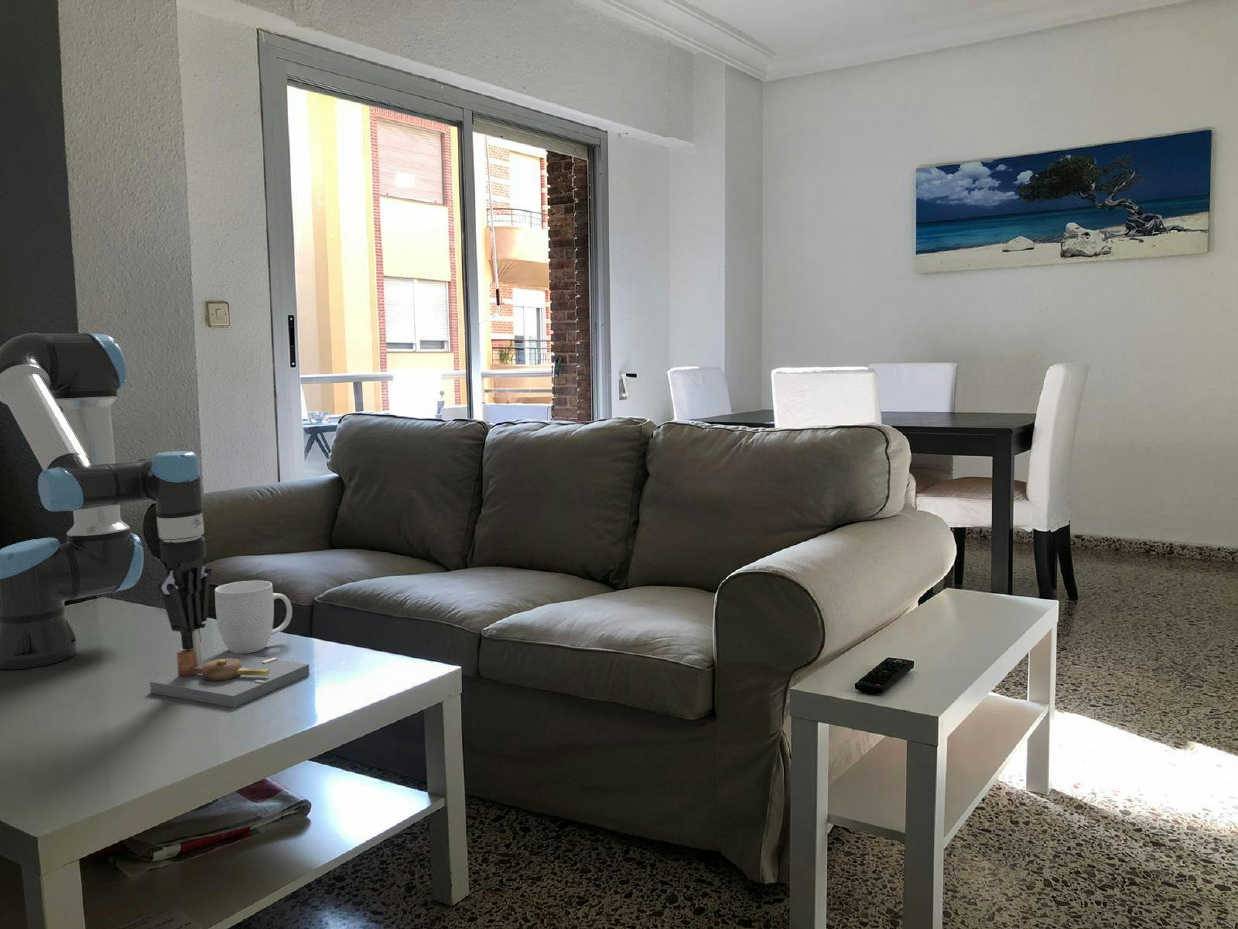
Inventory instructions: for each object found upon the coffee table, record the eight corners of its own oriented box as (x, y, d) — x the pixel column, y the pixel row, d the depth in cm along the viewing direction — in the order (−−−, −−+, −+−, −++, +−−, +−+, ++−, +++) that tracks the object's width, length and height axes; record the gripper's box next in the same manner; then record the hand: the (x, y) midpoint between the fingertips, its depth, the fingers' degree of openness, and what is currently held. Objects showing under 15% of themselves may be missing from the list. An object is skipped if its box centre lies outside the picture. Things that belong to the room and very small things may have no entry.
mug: (283, 634, 206) (280, 574, 205) (303, 645, 198) (299, 583, 196) (211, 648, 197) (207, 586, 195) (228, 661, 188) (224, 596, 187)
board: (150, 692, 171) (149, 680, 171) (230, 662, 187) (229, 651, 187) (234, 707, 163) (233, 694, 162) (309, 674, 179) (309, 662, 179)
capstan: (168, 679, 171) (167, 657, 171) (190, 667, 177) (188, 646, 177) (258, 682, 168) (257, 660, 168) (276, 670, 175) (275, 649, 174)
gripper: (179, 546, 166) (191, 677, 169) (221, 530, 178) (231, 653, 181) (139, 545, 167) (152, 676, 170) (184, 530, 180) (195, 652, 183)
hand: (193, 664), depth 176 cm, fingers closed
